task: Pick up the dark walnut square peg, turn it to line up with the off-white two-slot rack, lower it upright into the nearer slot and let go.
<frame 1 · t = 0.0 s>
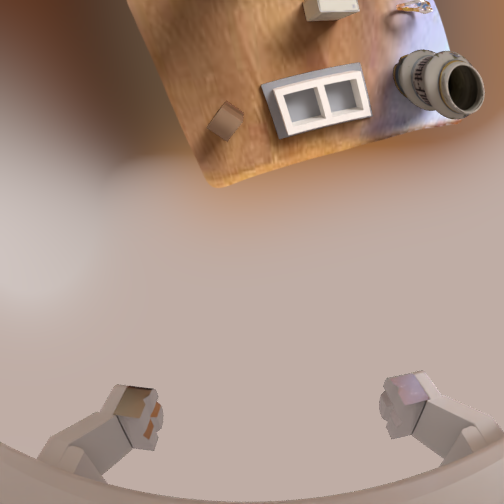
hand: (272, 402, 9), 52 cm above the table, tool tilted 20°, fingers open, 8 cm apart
skincare box: (319, 11, 39), on the table
ring: (404, 9, 37), on the table
slot rack: (318, 98, 50), on the table
apothecary jar: (413, 77, 45), on the table
walnut peg: (228, 114, 52), on the table
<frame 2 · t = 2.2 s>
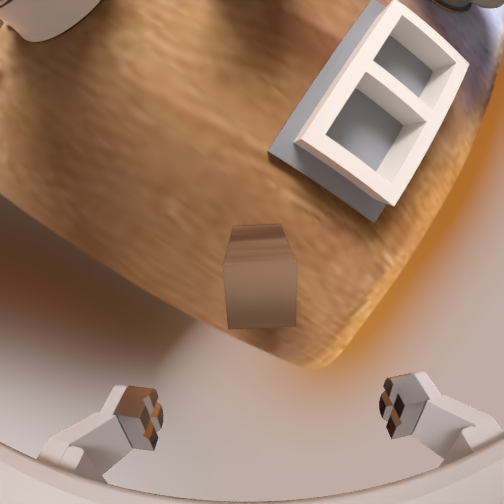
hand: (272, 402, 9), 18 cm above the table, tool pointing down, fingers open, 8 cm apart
slot rack: (376, 101, 22), on the table
walnut peg: (257, 247, 26), on the table
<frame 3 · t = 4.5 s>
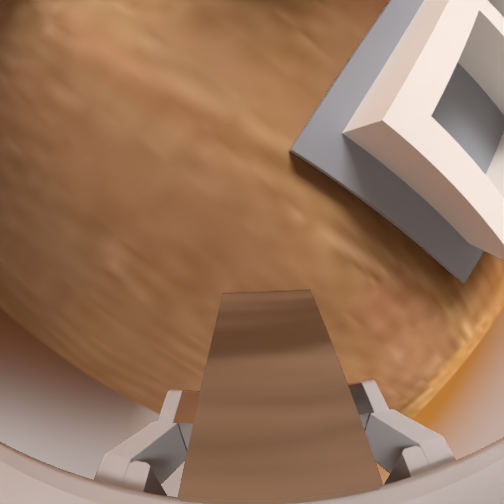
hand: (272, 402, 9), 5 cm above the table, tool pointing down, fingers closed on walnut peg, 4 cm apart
slot rack: (466, 75, 10), on the table
walnut peg: (267, 329, 14), on the table, touching gripper
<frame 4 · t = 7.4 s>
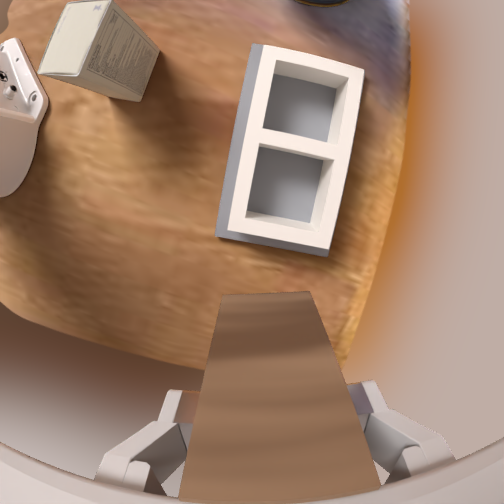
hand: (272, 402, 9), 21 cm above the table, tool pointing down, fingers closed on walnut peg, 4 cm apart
skincare box: (134, 74, 25), on the table
slot rack: (291, 147, 27), on the table
walnut peg: (267, 330, 14), point 16 cm above the table, touching gripper
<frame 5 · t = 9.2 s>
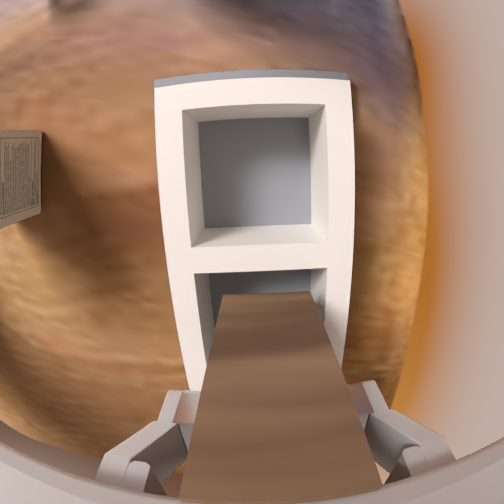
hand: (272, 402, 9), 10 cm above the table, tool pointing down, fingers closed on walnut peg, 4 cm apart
skincare box: (25, 174, 17), on the table
slot rack: (258, 232, 18), on the table
walnut peg: (267, 330, 14), point 5 cm above the table, touching gripper
when the fingers open (7 cm above the table, at t = 10.5 s): walnut peg stays where it is, resting on slot rack.
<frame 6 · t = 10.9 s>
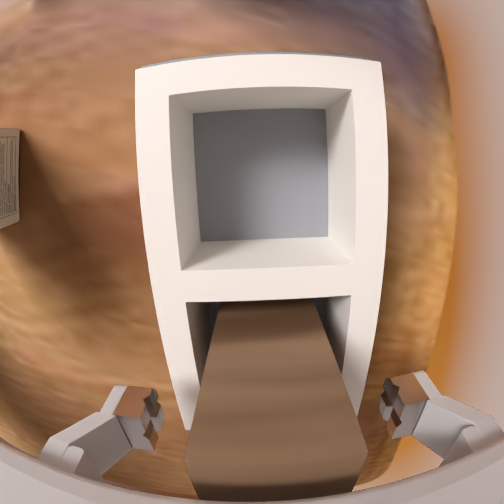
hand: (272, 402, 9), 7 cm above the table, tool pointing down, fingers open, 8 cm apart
skincare box: (3, 177, 14), on the table
slot rack: (264, 245, 15), on the table
walnut peg: (266, 320, 15), point 1 cm above the table, touching slot rack
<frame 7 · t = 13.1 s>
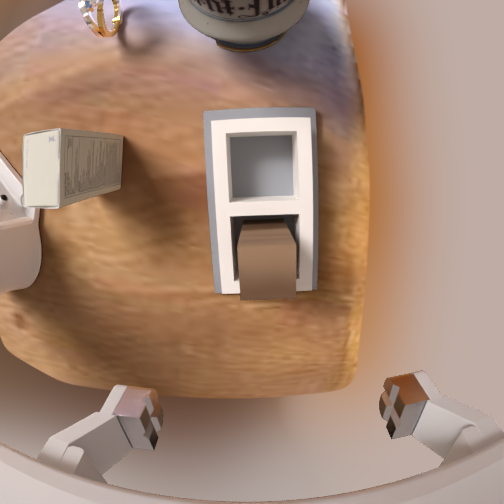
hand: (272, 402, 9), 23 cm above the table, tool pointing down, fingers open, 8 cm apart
skincare box: (107, 163, 30), on the table
ring: (120, 22, 25), on the table
slot rack: (263, 201, 31), on the table
apothecary jar: (245, 16, 25), on the table
walnut peg: (264, 238, 31), point 1 cm above the table, touching slot rack
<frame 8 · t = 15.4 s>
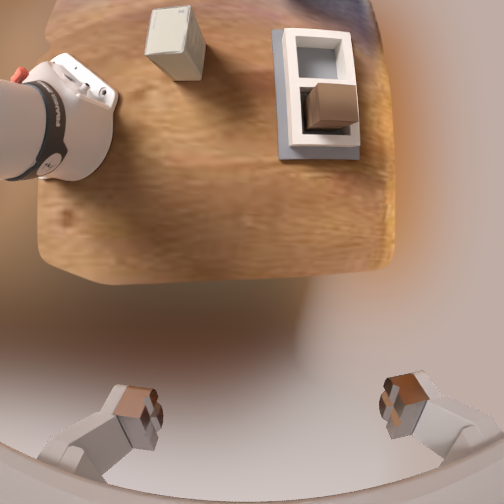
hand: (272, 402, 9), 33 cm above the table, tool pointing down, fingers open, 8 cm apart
skincare box: (190, 62, 35), on the table
slot rack: (315, 92, 36), on the table
walnut peg: (318, 116, 36), point 1 cm above the table, touching slot rack
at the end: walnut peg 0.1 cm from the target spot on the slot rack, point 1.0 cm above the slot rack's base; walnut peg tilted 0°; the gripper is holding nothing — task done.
